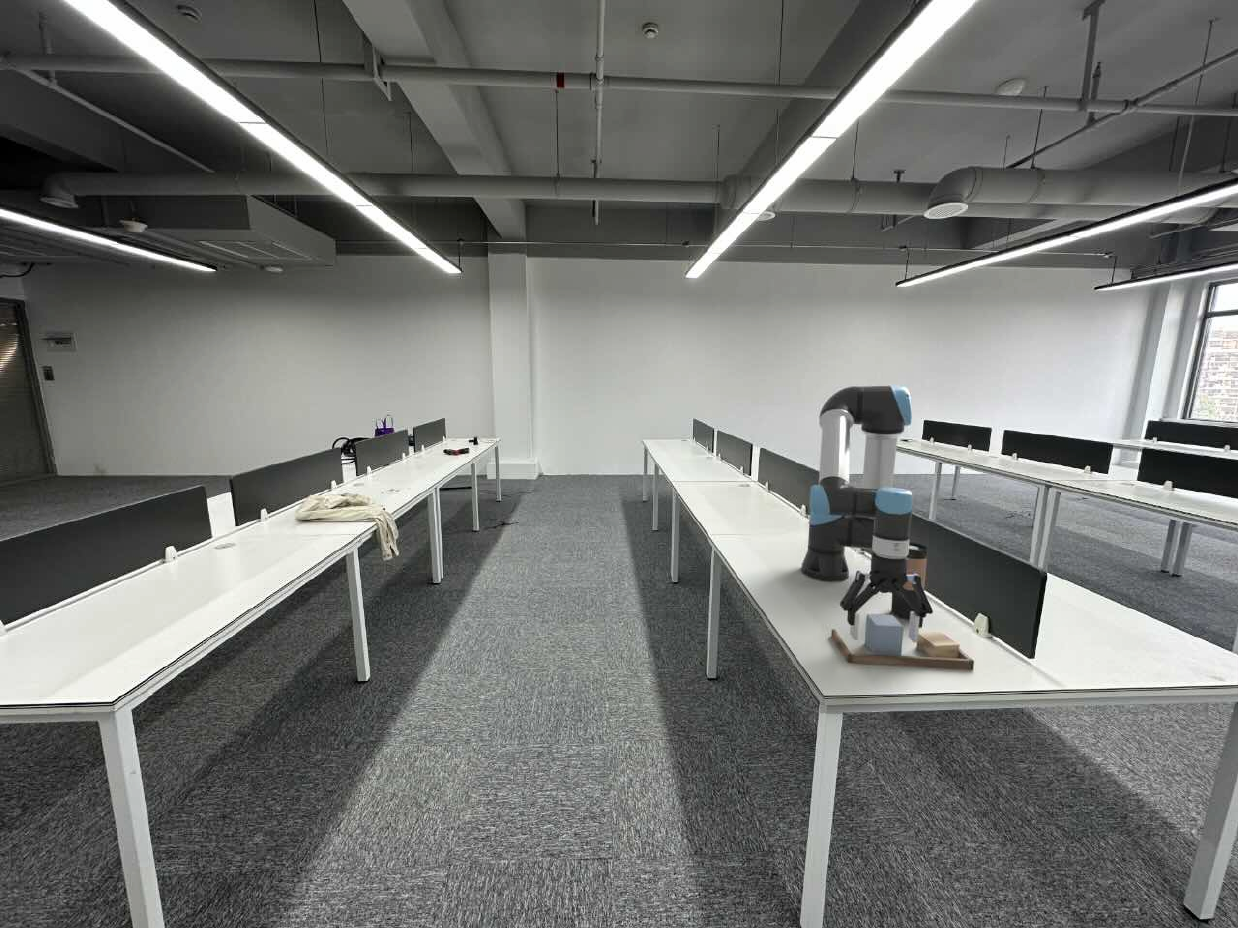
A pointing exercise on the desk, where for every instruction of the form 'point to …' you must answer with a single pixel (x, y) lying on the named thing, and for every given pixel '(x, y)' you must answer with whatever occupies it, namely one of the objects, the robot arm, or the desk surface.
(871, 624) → the slate block
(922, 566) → the travel mug
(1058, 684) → the desk surface
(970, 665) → the bay
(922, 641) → the oak block
